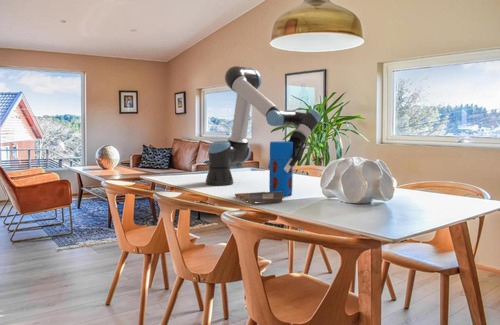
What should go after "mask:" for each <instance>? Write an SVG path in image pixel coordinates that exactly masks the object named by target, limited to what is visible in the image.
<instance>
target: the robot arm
mask: <svg viewBox="0 0 500 325" xmlns="http://www.w3.org/2000/svg"><path fill="white" fill-rule="evenodd" d="M224 82H225V83H226V85H227V87H228V88H230V90H232V91H233V92H234V93H235V94H236V100H235V107H234V115H233V120H232V129H231V135H230V137H228V138H227V140H218V141H212V142H211V143H210V144H209V145H208V172H207V176H206V178H205V185H210V186H231V185H233V184H234V178H233V176H232V175H233V174H232V172H231V165H232V164H241V163H245V162H247V161H248V160H249V158H250V156H251V154H252V150H251V147H250V144H249V140H248V139H247V133H248V127H249V120H250V114H251V107H253V108H255V109H256V110H257V111H258V112H259V113H261V115H263V116H264V117H265V119H266V122H267V124H268V125H269V126H271V127H295V129H294V130H293V132H292V133H291V135H290V136H289V140H288V142H293V157H292V158H293V159H292V158H290V160H289V161H288V163H287V164H286V166H285V167H284V170H285V171H286V173H288V171H289V170H290V168H291V167H292V166H293V167H294V165H295V164H296V162H301V160H302V158H303V154H304V151H305V149H306V148H307V146H306V144H305V143H306V141H307V140H308V139H309V138H310V136H311V134H312V133H313V131H314V129H316V127H317V125H318V124H319V122H320V121H321V119H322V116H321V114H320V112H319V111H318V110H316V109H313V108H311V109H309V110H308V111H306V112H300V111H295V110H289V109H286V110H281V109H280V108H279V107H278V106H277V105H276V104H274V103H273V102H272V101H271V100H270V99H268V98H267V97H266V96H265V95H264V94H263V93H262V92H260V91H259V90H258V89H259V88H260V87H261V84H262V75H261V73H259V70H257V69H255V68H252V67H247V66H246V67H244V66H238V65H235V66H232V67H229V68H228V69H227V71H226V73H225V74H224ZM283 142H286V141H284V140H283ZM266 168H267V169H268V170H269V171H270V161H269V162H268V163H267V165H266Z"/></svg>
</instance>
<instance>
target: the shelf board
mask: <svg viewBox="0 0 500 325" xmlns="http://www.w3.org/2000/svg"><path fill="white" fill-rule="evenodd" d="M235 196H236V197H238V198H240V199H239V200H241V199H243V200H245V201H248V202H250V203H255V202H268V203H277V202H276V201H282V202H283V199H284V197H283V191H277V192H270V191H260V192H259V191H258V192H257V191H256V192H242V193H241V192H240V193H235V194H234V197H235ZM236 197H235V198H236ZM238 198H237V199H238ZM243 200H242V201H243ZM245 201H244V202H245ZM248 202H247V203H248ZM250 203H249V204H250ZM255 204H256V203H255Z"/></svg>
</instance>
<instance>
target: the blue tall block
mask: <svg viewBox="0 0 500 325" xmlns="http://www.w3.org/2000/svg"><path fill="white" fill-rule="evenodd" d="M292 157H293V142H289V141H285V142H284V141H270V142H269V162H270V170H269V181H268V182H269V192H277V191H283V196H284V197H291V196H292V195H293V178H294V177H293V174H294V173H293V172H294V171H293V169H294V168H293V167H294V165H293V166H292V167H291V168H290V170H289V171H288V173H286V171H285V170H284V167H285V166H286V164H287V163H288V161H289V160H290V158H292ZM292 159H293V158H292Z"/></svg>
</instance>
